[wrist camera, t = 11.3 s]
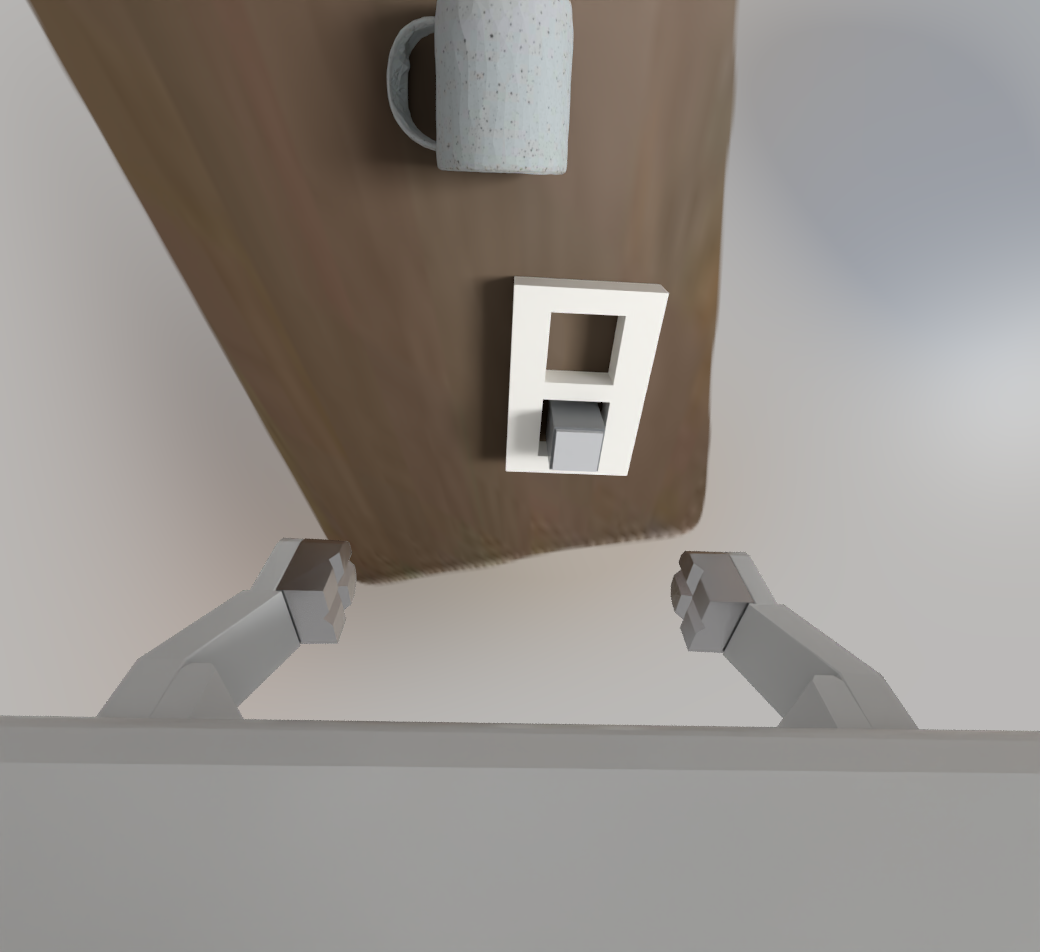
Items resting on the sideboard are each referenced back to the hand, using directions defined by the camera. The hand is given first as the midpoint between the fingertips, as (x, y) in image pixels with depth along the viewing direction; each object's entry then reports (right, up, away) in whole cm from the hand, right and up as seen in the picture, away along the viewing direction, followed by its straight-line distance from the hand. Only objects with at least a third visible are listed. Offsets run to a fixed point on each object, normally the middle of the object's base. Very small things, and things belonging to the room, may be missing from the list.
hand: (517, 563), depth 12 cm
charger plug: (+5, +7, +31) cm, 32 cm away
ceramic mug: (-2, +26, +18) cm, 31 cm away
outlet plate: (+5, +10, +28) cm, 31 cm away
